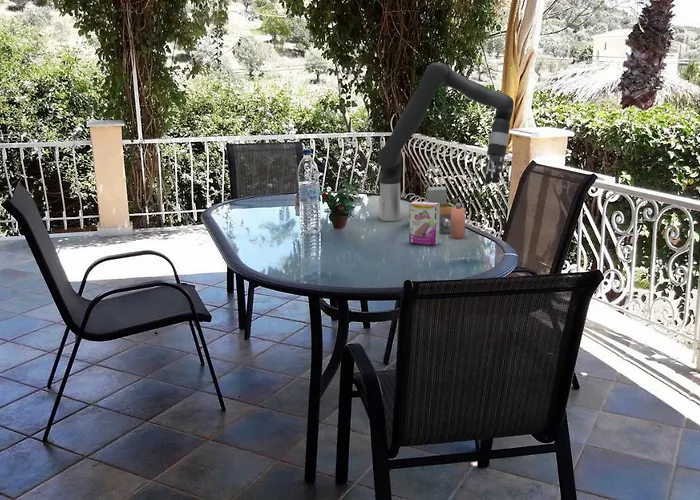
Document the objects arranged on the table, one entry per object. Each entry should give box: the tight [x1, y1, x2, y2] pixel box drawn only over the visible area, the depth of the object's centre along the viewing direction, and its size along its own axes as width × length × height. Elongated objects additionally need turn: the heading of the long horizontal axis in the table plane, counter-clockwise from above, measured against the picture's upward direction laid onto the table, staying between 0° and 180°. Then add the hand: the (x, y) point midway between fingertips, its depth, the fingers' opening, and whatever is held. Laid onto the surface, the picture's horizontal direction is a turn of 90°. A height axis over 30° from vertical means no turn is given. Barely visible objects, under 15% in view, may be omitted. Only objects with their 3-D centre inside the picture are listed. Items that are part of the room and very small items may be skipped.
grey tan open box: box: [439, 202, 456, 234], centre depth 278 cm, size 11×16×10 cm
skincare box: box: [427, 185, 448, 203], centre depth 291 cm, size 8×7×16 cm
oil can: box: [450, 202, 466, 240], centre depth 265 cm, size 6×6×14 cm
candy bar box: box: [408, 200, 440, 247], centre depth 257 cm, size 11×5×16 cm, turn 65°
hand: (490, 183), depth 269 cm, fingers open, 8 cm apart
